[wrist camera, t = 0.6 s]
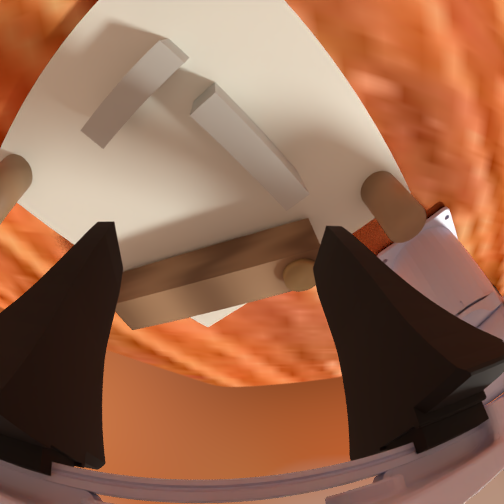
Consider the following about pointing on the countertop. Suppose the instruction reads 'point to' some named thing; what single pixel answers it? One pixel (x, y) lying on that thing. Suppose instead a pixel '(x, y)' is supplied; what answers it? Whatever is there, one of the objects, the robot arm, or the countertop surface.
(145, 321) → the hinged leg
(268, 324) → the countertop surface
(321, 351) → the countertop surface
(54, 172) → the white block puzzle board
